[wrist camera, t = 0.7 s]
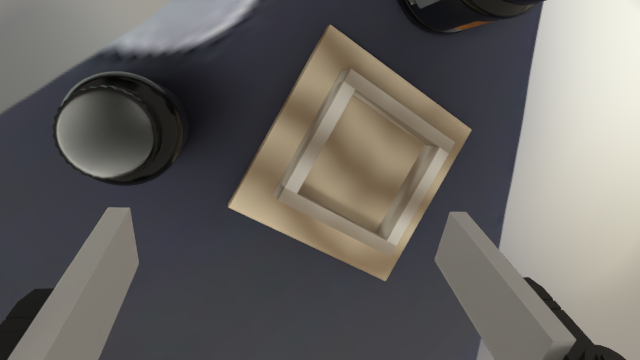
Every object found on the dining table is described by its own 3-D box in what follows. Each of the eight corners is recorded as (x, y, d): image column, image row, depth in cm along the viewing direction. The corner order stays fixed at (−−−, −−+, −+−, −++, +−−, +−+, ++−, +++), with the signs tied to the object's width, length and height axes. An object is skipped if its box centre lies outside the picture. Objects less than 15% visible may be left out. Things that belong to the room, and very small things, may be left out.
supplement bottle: (178, 74, 30) (164, 55, 19) (198, 156, 31) (196, 185, 20) (83, 87, 28) (4, 75, 17) (110, 173, 30) (54, 215, 18)
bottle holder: (326, 26, 33) (340, 18, 29) (465, 129, 39) (489, 131, 36) (227, 204, 33) (230, 215, 30) (381, 277, 39) (397, 292, 36)
